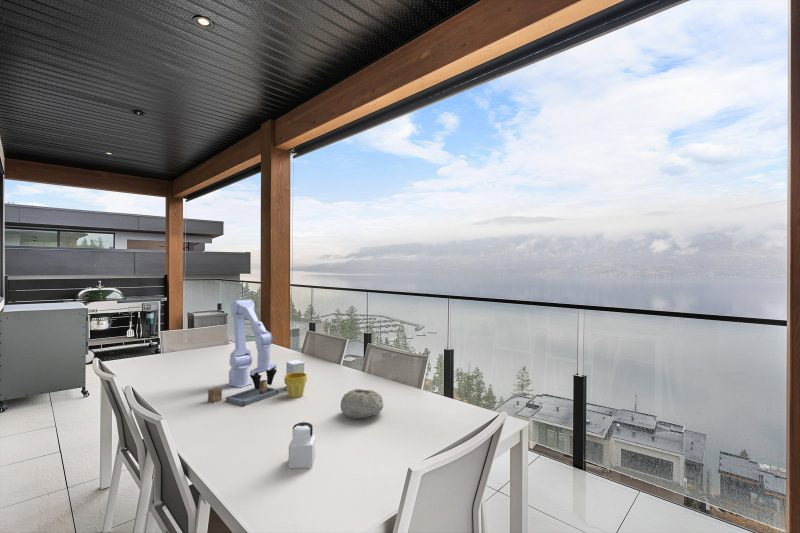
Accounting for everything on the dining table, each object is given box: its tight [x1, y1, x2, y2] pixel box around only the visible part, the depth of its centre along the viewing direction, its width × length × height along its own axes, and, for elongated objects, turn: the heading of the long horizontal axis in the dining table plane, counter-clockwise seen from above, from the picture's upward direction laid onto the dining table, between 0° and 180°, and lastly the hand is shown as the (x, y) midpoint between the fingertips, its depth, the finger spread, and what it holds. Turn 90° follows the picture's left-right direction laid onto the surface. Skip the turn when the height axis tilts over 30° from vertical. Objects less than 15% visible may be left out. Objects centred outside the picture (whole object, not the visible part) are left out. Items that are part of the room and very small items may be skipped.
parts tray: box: [225, 386, 280, 407], centre depth 180 cm, size 12×20×2 cm, turn 151°
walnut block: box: [207, 386, 223, 404], centre depth 175 cm, size 4×4×6 cm
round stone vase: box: [340, 388, 384, 419], centre depth 160 cm, size 18×18×10 cm
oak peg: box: [259, 379, 268, 394], centre depth 186 cm, size 4×4×6 cm
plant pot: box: [284, 372, 308, 399], centre depth 184 cm, size 10×10×10 cm
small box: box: [285, 359, 305, 388], centre depth 196 cm, size 8×6×13 cm
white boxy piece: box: [288, 421, 316, 469], centre depth 121 cm, size 7×7×12 cm
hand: (263, 386), depth 186 cm, fingers open, 7 cm apart
